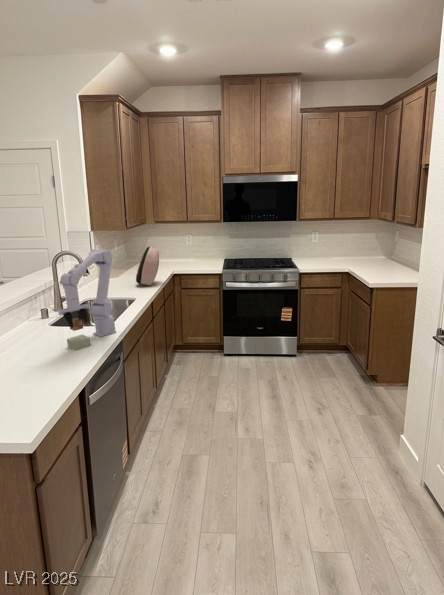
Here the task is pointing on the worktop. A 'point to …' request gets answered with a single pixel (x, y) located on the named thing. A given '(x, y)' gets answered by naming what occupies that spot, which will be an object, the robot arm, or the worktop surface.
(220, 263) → the worktop surface
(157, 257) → the pink rounded shell
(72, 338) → the sage base block
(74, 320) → the walnut cube
